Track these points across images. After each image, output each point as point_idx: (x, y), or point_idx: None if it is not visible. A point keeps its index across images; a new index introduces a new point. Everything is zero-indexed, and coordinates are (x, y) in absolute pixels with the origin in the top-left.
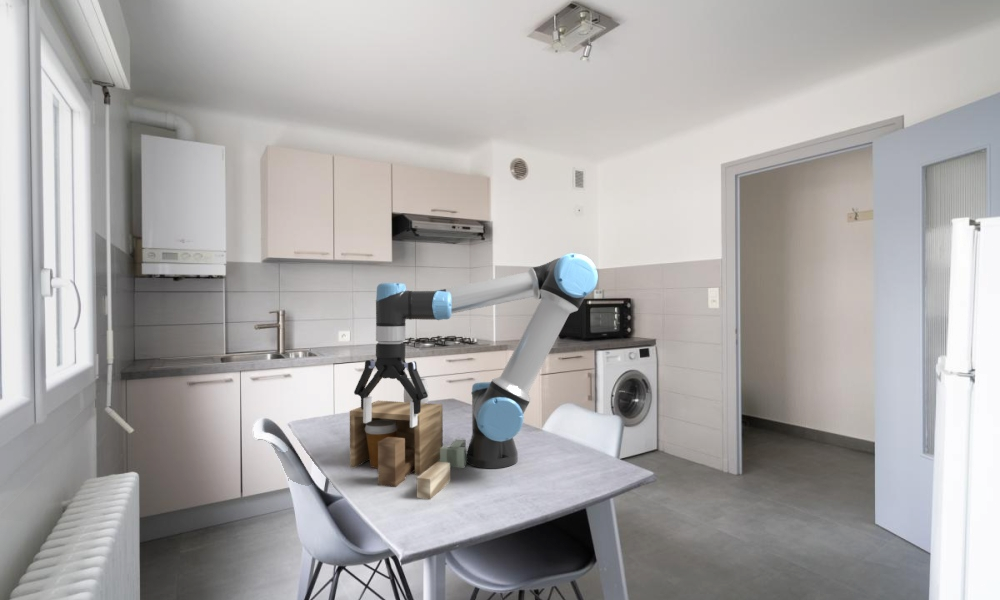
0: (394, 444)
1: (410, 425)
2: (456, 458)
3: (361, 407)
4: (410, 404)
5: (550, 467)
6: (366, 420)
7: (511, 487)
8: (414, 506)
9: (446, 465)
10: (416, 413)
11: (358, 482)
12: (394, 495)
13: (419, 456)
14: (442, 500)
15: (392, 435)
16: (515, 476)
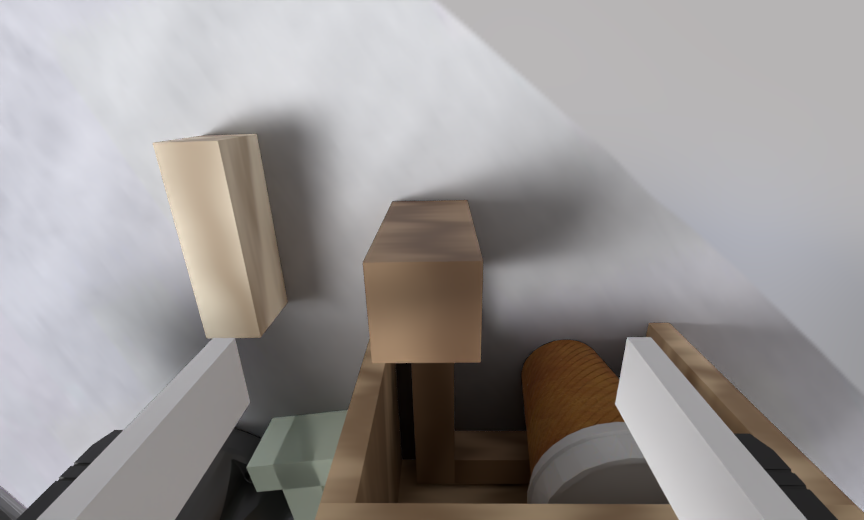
0: (368, 260)
1: (222, 346)
2: (286, 437)
3: (765, 449)
4: (87, 495)
5: (33, 477)
6: (633, 357)
7: (29, 311)
8: (213, 53)
9: (199, 308)
10: (118, 432)
11: (556, 199)
12: (348, 126)
13: (362, 365)
14: (157, 140)
15: (533, 458)
16: (78, 393)
